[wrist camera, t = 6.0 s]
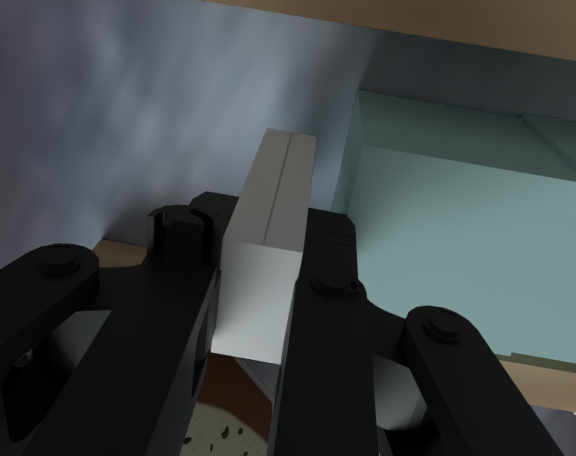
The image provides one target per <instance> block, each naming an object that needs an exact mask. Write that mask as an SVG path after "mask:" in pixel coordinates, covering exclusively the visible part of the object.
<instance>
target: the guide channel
mask: <svg viewBox="0 0 576 456" xmlns="http://www.w3.org/2000/svg"><path fill="white" fill-rule="evenodd" d="M203 1H209V2H216V3H222V4H228V5H234V6H240V7H246V8H252V9H258V10H265V11H271V12H277V13H283V14H289V15H295V16H301V17H308V18H314V19H320V20H326V21H332V22H338V23H344V24H351V25H357V26H363V27H369V28H375V29H381V30H387V31H394V32H400V33H406V34H412V35H418V36H424V37H430V38H437V39H443V40H449V41H455V42H461V43H467V44H473V45H480V46H486V47H492V48H498V49H504V50H510V51H516V52H523V53H529V54H535V55H541V56H547V57H553V58H559V59H566V60H572V61H576V0H203ZM92 251H94V252H95V254H96V255H97V256H98V258H99V267H126V266H135V265H139V264H141V263H142V261H143V259H144V258H145V256H146V255H147V247H144V246H138V245H132V244H126V243H120V242H115V241H109V240H103V239H101V240H100V241H99V242H98V243H97V245H96V246H95V247H94V248H93V249H92ZM211 346H212V341H211V344H210V347H209V350H211ZM494 354H495V353H494ZM495 356H496V357H497V358H498V360H499V361H500V363H501V364H502V366H503V367H504V369H505V370H506V372H507V373H508V374H509V376H510V377H511V379H512V380H513V382H514V383H515V385H516V386H517V388H518V389H519V390H520V392H521V393H522V395H523V396H524V398H525V399H526V401H527V402H528V404H530V405H536V406H542V407H548V408H553V409H559V410H565V411H571V412H576V363H570V362H565V361H559V360H553V359H548V358H542V357H536V356H531V355H525V354H519V353H514V352H512V353H511V355H510V356H506V355H500V354H495Z"/></svg>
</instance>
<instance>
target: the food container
mask: <svg viewBox="0 0 576 456" xmlns="http://www.w3.org/2000/svg"><path fill="white" fill-rule="evenodd" d="M273 400H274V395H273V394H272V393H271V392H270V391H269V390H268V388H267V387H266V386H265V385H264V384H263V382H262V381H261V380H260V379H259V378H258V377H257V375H256V374H255V373H254V372H253V371H252V369H251V368H250V367H249V366H248V365H247V364H246V362H245V361H244V360H243V359H242V358H241V357H235V356H230V355H224V354H218V353H213V352H211V350H208V356H207V366H206V373H205V376H204V379H203V382H202V385H201V388H200V392H199V395H198V398H197V401H196V404H195V408H194V411H193V414H192V417H191V420H190V424H189V427H188V430H187V433H186V436H185V440H184V443H183V446H182V449H181V452H180V456H266V454H267V447H268V440H269V433H270V426H271V420H272V413H273V411H272V406H273Z"/></svg>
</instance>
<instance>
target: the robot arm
mask: <svg viewBox="0 0 576 456" xmlns="http://www.w3.org/2000/svg"><path fill="white" fill-rule="evenodd" d="M316 140H317V137H315V136H310V135H304V134H298V133H292V132H287V131H281V130H275V129H270V128H267V130H266V132H265V135H264V137H263V140H262V142H261V145H260V147H259V150H258V152H257V155H256V157H255V160H254V162H253V165H252V167H251V170H250V172H249V175H248V177H247V180H246V182H245V185H244V187H243V190H242V192H241V195H240V197H235V196H230V195H224V194H218V193H213V192H207V191H206V192H204V193H203V194H201V195H199V196H197V197H195V198H194V199H193V200H192V201H191V203H190V205H171V206H164V207H161V208H158V209H155V210H154V211H153V212H151V213H150V214H149V215H148V219H147V255H146V256H145V258H144V259H143V261H142V263H141V264H139V265H135V266H126V267H99V258H98V256H97V255H96V254H95V252H94V251H92V250H90V249H88V248H86V247H84V246H79V245H74V244H66V243H64V244H62V243H59V244H52V245H47V246H42V247H39V248H37V249H34V250H32V251H30V252H28V253H26V254H24V255H23V256H21V257H20V258H18V259H16V260H15V261H13V262H12V263H10V264H8V265H7V266H5V267H3V268H2V269H0V456H180V452H181V449H182V446H183V443H184V440H185V436H186V433H187V430H188V427H189V424H190V420H191V417H192V414H193V411H194V408H195V404H196V401H197V398H198V395H199V392H200V388H201V385H202V382H203V379H204V376H205V373H206V366H207V356H208V350H209V347H210V344H211V341H212V346H211V352H213V353H218V354H224V355H230V356H235V357H241V358H246V359H252V360H258V361H263V362H269V363H275V364H280V369H279V375H278V380H277V385H276V390H275V395H274V400H273V406H272V411H273V413H272V420H271V426H270V433H269V440H268V447H267V454H266V456H379V453H380V456H564V454H563V453H562V451H561V450H560V449H559V447H558V446H557V444H556V443H555V441H554V440H553V438H552V437H551V435H550V434H549V433H548V431H547V430H546V428H545V427H544V425H543V424H542V422H541V421H540V419H539V418H538V417H537V415H536V414H535V412H534V411H533V409H532V408H531V406H530V405H529V404H528V402H527V401H526V399H525V398H524V396H523V395H522V393H521V392H520V390H519V389H518V388H517V386H516V385H515V383H514V382H513V380H512V379H511V377H510V376H509V374H508V373H507V372H506V370H505V369H504V367H503V366H502V364H501V363H500V361H499V360H498V358H497V357H496V356H495V354H494V353H493V351H492V350H491V348H490V347H489V345H488V344H487V342H486V341H485V340H484V338H483V337H482V335H481V334H480V332H479V331H478V329H477V328H476V327H475V326H474V325H473V324H472V323H471V322H470V321H469V320H468V319H466V318H464V317H463V316H461V315H460V314H458V313H456V312H454V311H452V310H449V309H446V308H443V307H438V306H431V305H426V306H417V307H415V308H414V309H412V310H410V311H409V312H408V314H407V317H406V319H405V318H402V317H400V316H397V315H395V314H392V313H390V312H387V311H385V310H383V309H381V308H379V307H378V306H376V305H375V304H373V303H372V302H370V301H369V300H368V299H367V292H366V289H365V287H364V284H363V283H362V282H361V281H360V280H359V279H358V263H357V249H356V247H357V245H356V227H355V225H354V223H353V222H352V221H351V220H350V218H349V217H347V214H341V213H335V212H330V211H324V210H318V209H313V208H308V206H309V198H310V190H311V182H312V173H313V165H314V157H315V148H316ZM26 353H27V354H26ZM21 357H22V358H21ZM20 358H21V359H20ZM19 359H20V360H19Z"/></svg>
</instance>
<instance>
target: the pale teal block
mask: <svg viewBox="0 0 576 456" xmlns="http://www.w3.org/2000/svg"><path fill="white" fill-rule="evenodd" d="M332 212H335V213H341V214H347V217H349V218H350V220H351V221H352V222H353V223H354V225H355V227H356V245H357V247H356V249H357V263H358V279H359V280H360V281H361V282H362V283H363V284H364V287H365V289H366V292H367V299H368V300H369V301H370V302H372V303H373V304H375V305H376V306H378V307H379V308H381V309H383V310H385V311H387V312H390V313H392V314H395V315H397V316H400V317H402V318H405V319H406V317H407V314H408V312H409V311H410V310H412V309H414V308H415V307H417V306H426V305H431V306H438V307H443V308H446V309H449V310H452V311H454V312H456V313H458V314H460V315H461V316H463V317H464V318H466V319H468V320H469V321H470V322H471V323H472V324H473V325H474V326H475V327H476V328H477V329H478V331H479V332H480V334H481V335H482V337H483V338H484V340H485V341H486V342H487V344H488V345H489V347H490V348H491V350H492V351H493V353H495V354H500V355H506V356H510V355H511V353H512V350H513V348H514V346H515V344H516V342H517V340H518V338H519V336H520V334H521V331H522V329H523V327H524V325H525V323H526V321H527V319H528V317H529V314H530V312H531V310H532V308H533V306H534V304H535V302H536V300H537V297H538V295H539V293H540V291H541V289H542V287H543V285H544V283H545V281H546V278H547V276H548V274H549V272H550V270H551V268H552V266H553V264H554V261H555V259H556V257H557V255H558V253H559V251H560V249H561V247H562V244H563V242H564V240H565V238H566V236H567V234H568V232H569V230H570V228H571V225H572V223H573V221H574V219H575V217H576V170H575V169H574V168H573V167H572V166H571V165H570V164H569V163H568V162H567V161H566V160H565V159H564V158H563V157H562V156H561V155H560V154H559V153H557V152H556V151H555V150H554V149H553V148H552V147H551V146H550V145H549V144H548V143H547V142H546V141H545V140H544V139H543V138H542V137H541V136H540V135H539V134H538V133H537V132H536V131H535V130H534V129H533V128H531V127H530V126H529V125H528V124H527V123H526V122H525V121H524V120H523V119H522V118H519V117H514V116H508V115H502V114H496V113H490V112H485V111H479V110H473V109H467V108H461V107H456V106H450V105H444V104H438V103H432V102H427V101H421V100H415V99H409V98H403V97H398V96H392V95H386V94H380V93H374V92H369V91H363V90H357V95H356V99H355V104H354V109H353V113H352V118H351V123H350V127H349V132H348V137H347V141H346V146H345V151H344V156H343V160H342V165H341V170H340V174H339V179H338V184H337V188H336V193H335V198H334V202H333V207H332Z"/></svg>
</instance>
